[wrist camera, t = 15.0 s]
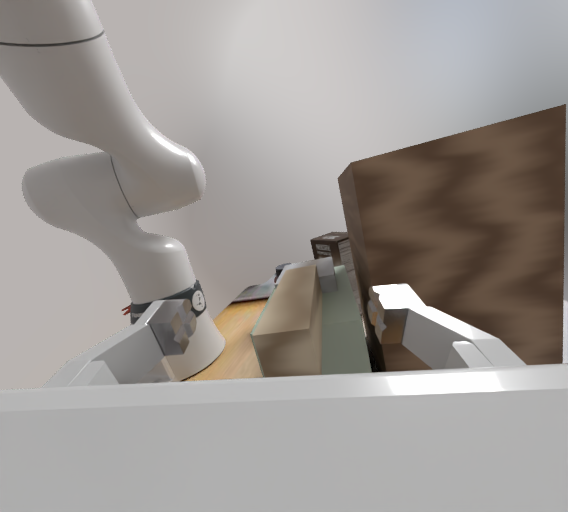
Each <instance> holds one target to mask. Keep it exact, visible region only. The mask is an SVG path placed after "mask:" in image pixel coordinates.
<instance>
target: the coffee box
mask: <svg viewBox="0 0 568 512" xmlns="http://www.w3.org/2000/svg"><path fill="white" fill-rule="evenodd" d="M311 245H312V249H313V254H314V258H315V260H316V259H321V258H326V257H331V256H332V260H333V265H334V267H337V266H342V265H344V266H345V269H346V272H347V275H348V278H349V281H350V285H351V288H352V291H353V294H354V297H355V300H356V303H357V306H358V309H359V312H360V315H361V314H362V307H361V302H360V296H359V291H358V286H357V280H356V275H355V269H354V264H353V258H352V253H351V248H350V242H349V237H348V232H331V233H328V234H326V235H322V236H319V237H317V238H314V239H312V240H311Z"/></svg>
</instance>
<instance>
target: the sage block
mask: <svg viewBox="0 0 568 512" xmlns="http://www.w3.org/2000/svg"><path fill="white" fill-rule="evenodd" d="M334 270H335V276H336V283H337V289H338V291H334V292H328V293H322V375H332V374H354V373H372V371H371V366H370V361H369V355H368V350H367V345H366V339H365V334H364V328H363V323H362V319H361V315H360V312H359V309H358V306H357V303H356V300H355V297H354V294H353V291H352V288H351V285H350V281H349V278H348V275H347V272H346V269H345V266H344V265H342V266H337V267H334ZM275 290H276V289H275V288H274V290H273V292H272V294H271V296H270V297H269V299H268V301H267V303H266V305H265V307H264V309H263V311H262V313H261V315H260V317H259V318H258V320H257V322H256V324H255V326H254V328H253V330H252V332H251V334H250V335H251V339H252V342H253V345H254V349H255V352H256V355H257V358H258V362H259V365H260V368H261V372H262V375H263V378H265V376H264V373H263V370H262V367H261V363H260V360H259V357H258V353H257V350H256V347H255V343H254V340H253V337H252V335H253V333H254V331H255V329H256V327H257V325H258V323H259V322H260V320H261V318H262V316H263V314H264V312H265V310H266V308H267V306H268V304H269V302H270V300H271V298H272V296H273V294H274V292H275Z"/></svg>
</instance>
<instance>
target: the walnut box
mask: <svg viewBox="0 0 568 512" xmlns="http://www.w3.org/2000/svg"><path fill="white" fill-rule="evenodd" d="M565 132H566V104H564V105H561V106H557V107H554V108H550V109H546V110H542V111H539V112H536V113H532V114H528V115H524V116H521V117H517V118H514V119H510V120H506V121H502V122H498V123H495V124H491V125H487V126H484V127H480V128H477V129H473V130H469V131H466V132H462V133H458V134H454V135H451V136H447V137H443V138H440V139H436V140H432V141H429V142H425V143H422V144H418V145H414V146H410V147H407V148H403V149H399V150H396V151H392V152H389V153H385V154H382V155H377V156H374V157H370V158H366V159H363V160H359V161H355V162H352V163H350V164H349V166H348V167H347V168H346V169H345V170H344V172H343V173H342V174H341V175H340V176H339V177H338V183H339V188H340V193H341V198H342V204H343V210H344V215H345V220H346V226H347V231H348V237H349V242H350V248H351V253H352V258H353V264H354V269H355V275H356V280H357V286H358V291H359V296H360V302H361V307H362V313H363V318H364V323H365V329H366V334H367V338H368V341H369V344H370V347H371V350H372V353H373V357H374V360H375V363H376V366H377V369H378V372H396V371H416V370H433V369H432V368H431V367H430V366H428V365H427V364H426V363H425V362H423V361H422V360H421V359H420V358H418V357H417V356H416V355H415V354H413V353H412V352H411V351H410V350H408V349H407V348H406V347H405V346H403V345H402V343H393V344H380V342H379V339H378V337H377V335H376V333H375V326H374V325H372V324H371V322H370V319H369V316H368V302H369V301H370V300H371V298H370V296H369V288H370V287H372V286H384V285H394V284H403V283H406V284H408V285H409V286H410V287H411V289H412V290H413V291H414V292H415V293H416V295H417V296H418V297H419V298H420V299H421V301H422V302H423V303H424V304H425V305H426V307H432V308H435V309H437V310H439V311H441V312H443V313H445V314H447V315H449V316H452V317H454V318H456V319H458V320H460V321H462V322H464V323H467V324H469V325H471V326H473V327H475V328H477V329H479V330H482V331H484V332H486V333H488V334H490V335H492V336H494V337H496V338H499V339H500V340H501V341H502V342H503V343H504V344H505V345H506V346H507V347H508V348H509V349H511V350H512V351H513V352H514V353H515V354H516V355H517V356H518V357H519V358H520V359H521V360H522V361H523V362H524V363H525V364H526V365H544V364H562V362H563V283H564V282H563V281H564V280H563V279H564V209H565V208H564V207H565V205H564V204H565V201H564V200H565Z"/></svg>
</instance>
